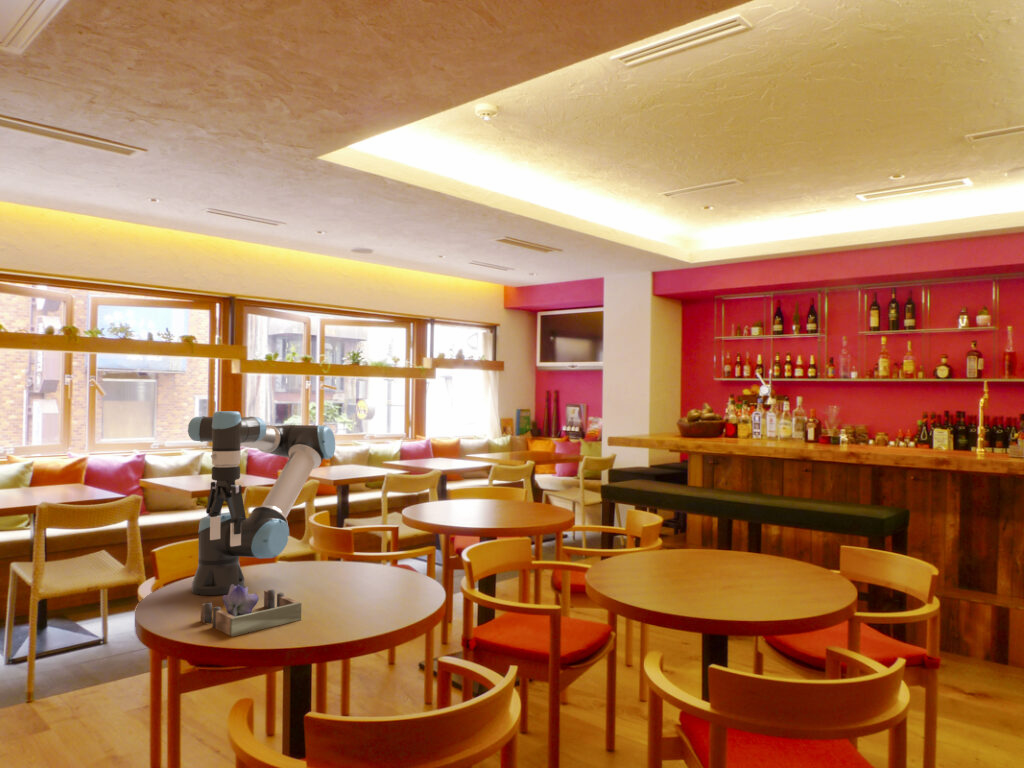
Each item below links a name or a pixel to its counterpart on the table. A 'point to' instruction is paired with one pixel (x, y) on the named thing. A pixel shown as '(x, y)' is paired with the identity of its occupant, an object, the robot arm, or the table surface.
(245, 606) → the flower
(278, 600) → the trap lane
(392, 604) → the table surface
